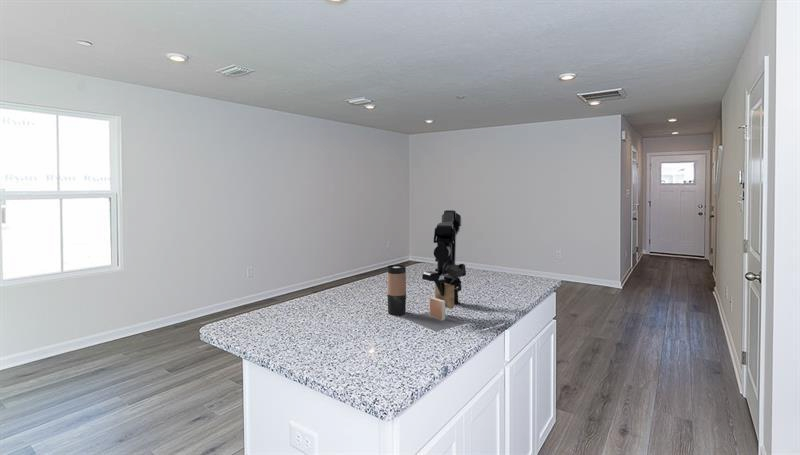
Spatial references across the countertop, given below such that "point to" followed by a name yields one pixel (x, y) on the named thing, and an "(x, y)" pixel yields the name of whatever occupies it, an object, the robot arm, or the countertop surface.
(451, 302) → the flat wooden plank
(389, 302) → the travel mug
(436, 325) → the mat
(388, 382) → the countertop surface
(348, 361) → the countertop surface
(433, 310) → the tile
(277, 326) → the countertop surface
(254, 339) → the countertop surface
